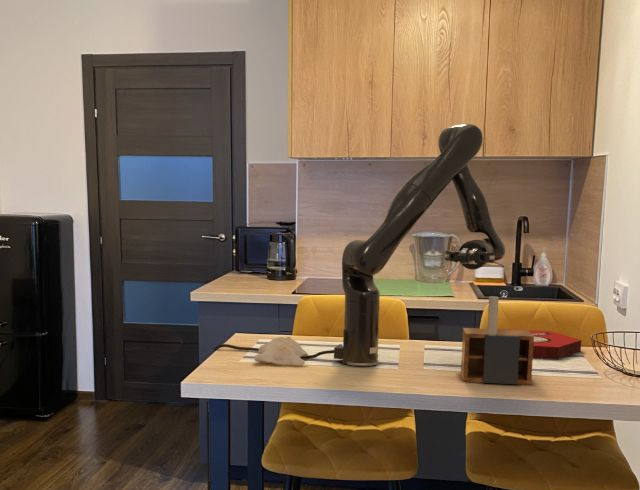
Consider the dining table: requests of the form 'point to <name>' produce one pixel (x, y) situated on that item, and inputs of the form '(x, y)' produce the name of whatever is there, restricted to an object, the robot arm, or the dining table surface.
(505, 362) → the sliding door
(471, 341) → the cupboard
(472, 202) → the robot arm
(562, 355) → the plaque
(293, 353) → the arrowhead
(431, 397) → the dining table surface
